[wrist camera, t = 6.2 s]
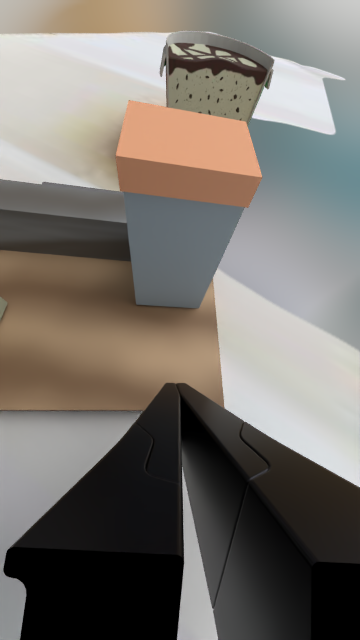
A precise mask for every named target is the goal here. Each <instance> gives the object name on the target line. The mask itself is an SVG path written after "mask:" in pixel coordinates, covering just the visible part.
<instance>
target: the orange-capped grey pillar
mask: <svg viewBox="0 0 360 640" xmlns="http://www.w3.org/2000/svg"><path fill="white" fill-rule="evenodd" d="M116 163H117V171H118V178H119V186H120V191H123V194H124V202H125V211H126V220H127V229H128V237H129V246H130V255H131V264H132V272H133V281H134V290H135V299H136V305H152V306H167V307H183V308H199V307H200V305H201V303H202V301H203V298H204V296H205V294H206V292H207V290H208V287H209V285H210V283H211V281H212V278H213V276H214V274H215V272H216V270H217V267H218V265H219V263H220V261H221V259H222V256H223V254H224V252H225V250H226V248H227V245H228V243H229V241H230V239H231V237H232V234H233V232H234V230H235V228H236V225H237V223H238V221H239V219H240V217H241V215H242V212H243V210H244V208H245V207H247V208H248V207H249V205H250V202H251V200H252V198H253V196H254V194H255V192H256V190H257V187H258V186H259V183H260V181H261V179H262V175H261V171H260V168H259V164H258V161H257V158H256V154H255V151H254V148H253V144H252V141H251V138H250V134H249V130H248V127H247V123H246V122H245V121H240V120H234V119H229V118H223V117H218V116H212V115H207V114H201V113H196V112H190V111H185V110H180V109H174V108H169V107H163V106H158V105H152V104H147V103H141V102H136V101H130V100H129V101H128V105H127V110H126V114H125V118H124V122H123V127H122V131H121V135H120V139H119V143H118V148H117V152H116Z"/></svg>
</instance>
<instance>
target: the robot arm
mask: <svg viewBox="0 0 360 640" xmlns="http://www.w3.org/2000/svg"><path fill="white" fill-rule="evenodd" d="M182 467H183V472H184V477H185V481H186V486H187V491H188V496H189V500H190V505H191V510H192V514H193V519H194V524H195V529H196V533H197V538H198V543H199V548H200V552H201V557H202V562H203V566H204V571H205V576H206V581H207V585H208V590H209V595H210V600H211V604H212V608H213V609H214V610H213V614H214V619H215V624H216V629H217V635H218V640H360V487H358V486H356V485H354V484H353V483H351V482H349V481H347V480H345V479H344V478H342V477H340V476H338V475H336V474H335V473H333V472H331V471H329V470H327V469H326V468H324V467H322V466H320V465H318V464H317V463H315V462H313V461H311V460H310V459H308V458H306V457H304V456H302V455H301V454H299V453H297V452H295V451H293V450H292V449H290V448H288V447H286V446H284V445H283V444H281V443H279V442H277V441H276V440H274V439H272V438H271V437H269V436H267V435H266V434H264V433H262V432H261V431H259V430H258V429H256V428H254V427H253V426H251V425H250V424H248V423H247V422H244V421H243V420H241V419H240V418H238V417H237V416H235V415H234V414H232V413H231V412H229V411H228V410H226V409H225V408H223V407H222V406H220V405H218V404H217V403H215V402H214V401H212V400H211V399H209V398H208V397H206V396H205V395H203V394H202V393H200V392H199V391H197V390H195V389H194V388H192V387H191V386H189V385H188V384H186V383H176V384H175V383H165V384H164V386H163V387H162V388H161V390H160V391H159V392H158V393H157V395H156V396H155V397H154V399H153V400H152V401H151V402H150V404H149V405H148V406H147V408H146V409H145V410H144V411H143V413H142V414H141V415H140V417H139V418H138V419H137V420H136V422H135V423H134V424H133V425H132V426H131V428H130V429H129V430H128V431H127V433H126V434H125V435H124V436H123V437H122V438H121V440H120V441H119V442H118V443H117V444H116V445H115V446H114V447H113V448H112V449H111V450H110V451H109V452H108V453H107V454H106V455H105V456H104V457H103V458H102V459H101V460H100V461H99V462H98V463H97V464H96V465H95V466H94V467H93V468H92V469H91V470H90V471H89V472H88V473H86V474H85V475H84V476H83V477H82V478H81V479H80V480H79V481H78V482H77V483H76V484H75V485H74V486H73V487H72V488H71V489H70V490H69V491H68V492H67V493H66V494H65V495H64V496H63V497H62V498H61V499H60V500H59V501H58V502H57V503H56V504H55V505H54V506H52V507H51V508H50V509H49V510H48V511H47V512H46V513H45V514H44V515H43V516H42V517H41V518H40V519H39V520H38V521H37V522H36V523H35V524H34V525H33V526H32V527H31V528H30V529H29V530H28V531H27V532H26V533H25V534H24V535H23V536H22V537H21V538H20V539H18V540H17V541H16V542H15V543H14V544H13V545H12V546H11V547H10V548H9V549H8V550H7V553H6V558H5V563H4V568H3V569H4V573H5V575H6V576H8V577H11V578H16V579H18V580H20V581H21V582H22V583H23V584H24V586H25V588H26V602H25V609H24V616H23V623H22V630H21V637H20V640H177V631H178V621H179V610H180V600H181V589H182V579H183V568H184V540H183V492H182Z"/></svg>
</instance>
